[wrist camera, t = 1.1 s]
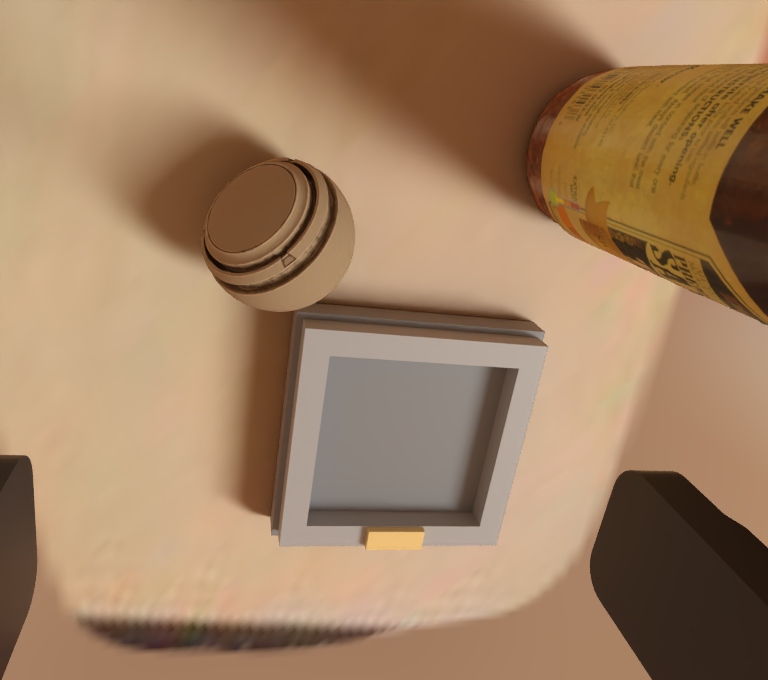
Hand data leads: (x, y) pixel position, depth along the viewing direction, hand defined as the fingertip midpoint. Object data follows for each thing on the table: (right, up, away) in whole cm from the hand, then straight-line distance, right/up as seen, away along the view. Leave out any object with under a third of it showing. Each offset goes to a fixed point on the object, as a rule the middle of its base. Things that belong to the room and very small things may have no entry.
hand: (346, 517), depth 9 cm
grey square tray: (+1, -1, +19) cm, 19 cm away
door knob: (-3, +7, +15) cm, 17 cm away
